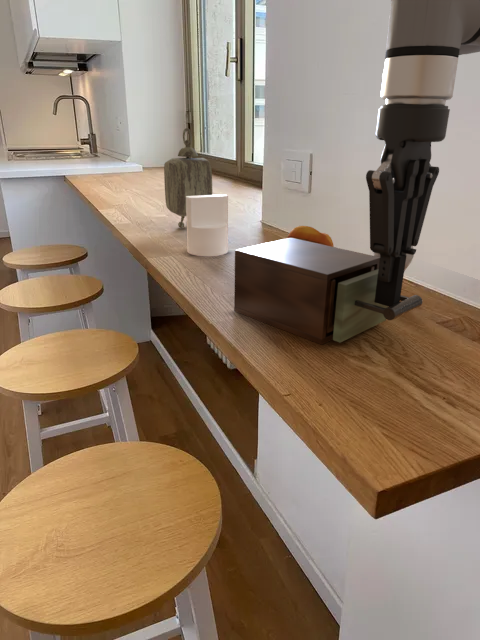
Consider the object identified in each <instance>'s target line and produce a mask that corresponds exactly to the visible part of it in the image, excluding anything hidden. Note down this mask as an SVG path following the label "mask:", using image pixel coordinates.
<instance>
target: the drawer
mask: <svg viewBox="0 0 480 640" xmlns="http://www.w3.org/2000/svg"><path fill="white" fill-rule="evenodd" d="M378 270H379V269H377V270H374V266H369V267H366V268H363V269H360V270H357V271H354V272H351V273H348V274H345V275H342V276H339V277H336V278H333V279H330V291H329V303H328V314H327V325H326V333H330V332H332V331H334V332H333V340H332V341H334V342H337V343H342V342H345V341H346V340H349V339H351V338H353V337H355V336H357V335H359V334H361V333H363V332H365V331H367V330H369V329H371V328H374V327H376V326H377V325H380V324H382V323H384V322H386V321H393V320H395V319H397V318H399V317H401V316H403V315H405V314H407V313H409V312H411V311H413V310H415V309H418V308H419V307H421V306H422V305H423V299H422V297H421V296H420V295H418V294H414V295H412V296H406V295H402V294H401V296H400V302H398V303H396V304H394V305H392V306H390V307H389V306H386V305H382V304H379V303H375V302H374V301H375V293H376V285H377V278H378Z"/></svg>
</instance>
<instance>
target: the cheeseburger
mask: <svg viewBox="0 0 480 640" xmlns="http://www.w3.org/2000/svg"><path fill="white" fill-rule="evenodd" d="M286 238H295V239H299V240H304V241H309V242H313V243H318V244H322V245H327V246H331V247H335V246H334V245H335V244H334V242H333V240H332V237H331V236H330V235H329V234H328V233H326V232H320V231H319V230H317V229H316V228H314V227H312V226H307V225H298V226H296V227H294V228H293V229H291V231H290V232H289V233H288V235H287V237H286Z"/></svg>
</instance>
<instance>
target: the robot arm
mask: <svg viewBox="0 0 480 640" xmlns="http://www.w3.org/2000/svg"><path fill="white" fill-rule="evenodd" d="M388 17H389V18H388V26H387V38H386V45H385V54H384V59H385V60H384V67H383V71H382V74H381V79H382V82H381V89H380V98H381V99H382V100H384V101H385V104H381V105H380V107H379V108H378V113H377V122H376V129H375V137H376V139H377V140H379V141H384V148H383V150H382V153H381V156H380V165H379V166H378V168H377V169H376V170H373V169H369V170H368V171H367V172H366V174H365V180H366V184H367V189H368V199H369V201H368V203H369V205H368V206H369V250H370V251H372V253H373V254H374V253H379V254H380V262H379V270H378V278H377V285H376V293H375V301H374V302H375V303H379V304H382V305H386V306H388V307H390V306H392V305H394V304H396V303H398V302H401V301H400V296H401V295H402V288H403V282H404V275H405V271H404V269H405V262H406V256H407V255H406V254H411V255H414V256H415V254H416V252H417V249H416V248H413V249H412V248H411V246H413V247H417V246H418V245H419V241H420V237H421V233H422V230H423V226H424V222H425V219H426V214H427V211H428V207H429V203H430V199H431V196H432V192H433V188H434V185H435V183H436V181H437V178H438V177H439V175H440V167H439V166H433V165H431V160H432V143H440V142H442V141H444V140H445V138H446V136H447V130H448V123H449V118H450V111H451V109H450V108H449V106H448V105H446V103H447V102H446V101H450V100H451V99H452V98H453V96H454V89H455V82H456V78H457V77H456V76H457V70H458V63H459V56H463V55H470V54H474V53H480V0H390V9H389V16H388Z"/></svg>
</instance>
